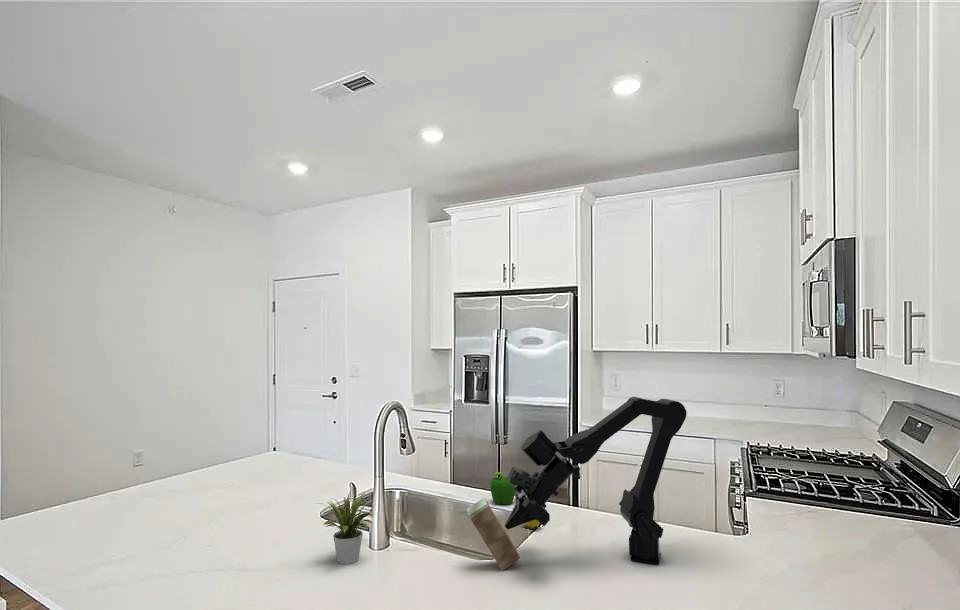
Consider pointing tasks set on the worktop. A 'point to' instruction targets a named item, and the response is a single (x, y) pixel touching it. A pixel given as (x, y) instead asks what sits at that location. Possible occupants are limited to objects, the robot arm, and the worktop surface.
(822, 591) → the worktop surface
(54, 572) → the worktop surface
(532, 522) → the lemon
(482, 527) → the walnut block
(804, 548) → the worktop surface
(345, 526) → the house plant
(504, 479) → the bell pepper
